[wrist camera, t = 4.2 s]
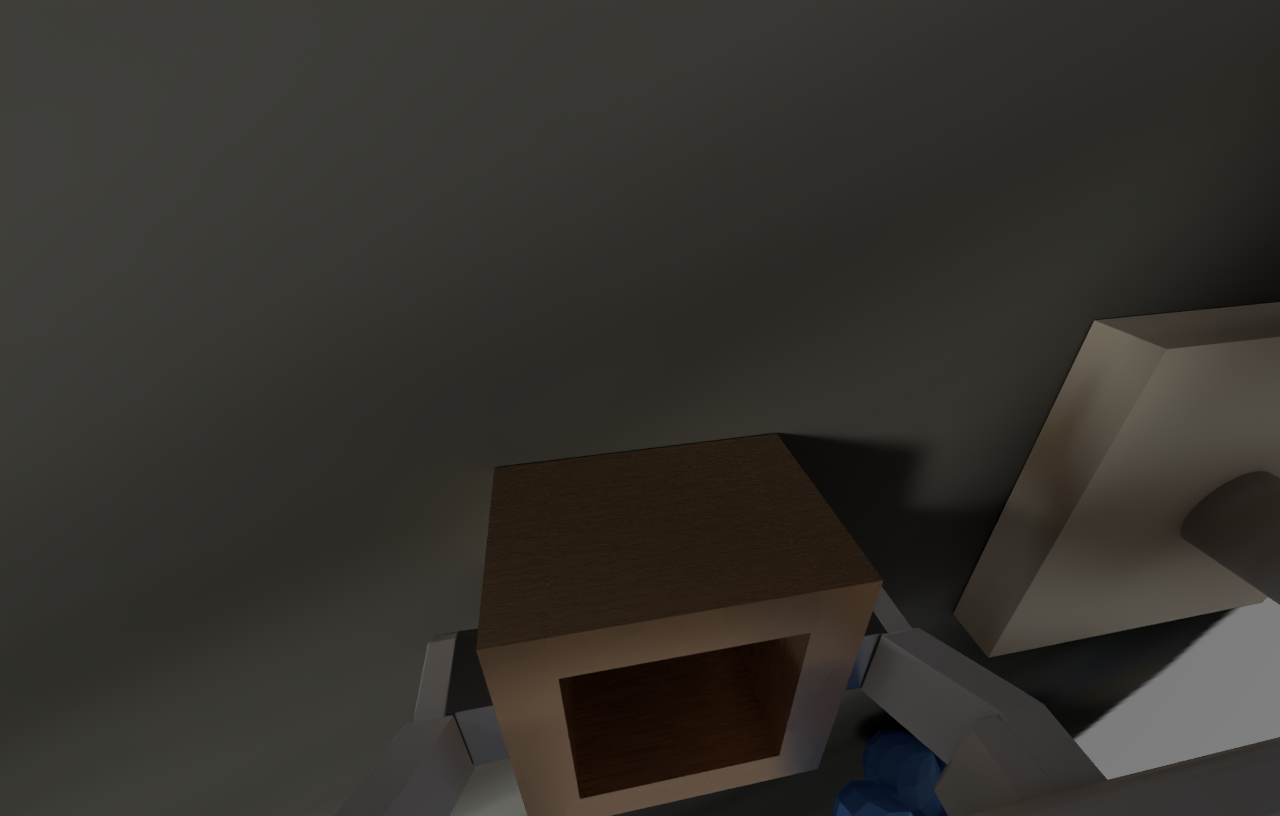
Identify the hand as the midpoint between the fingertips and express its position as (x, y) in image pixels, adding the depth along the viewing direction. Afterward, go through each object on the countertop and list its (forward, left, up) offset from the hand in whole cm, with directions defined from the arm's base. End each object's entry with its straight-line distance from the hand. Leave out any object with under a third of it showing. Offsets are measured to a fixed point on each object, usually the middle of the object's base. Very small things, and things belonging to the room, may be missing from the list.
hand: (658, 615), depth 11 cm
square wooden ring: (0, 0, -2) cm, 2 cm away
